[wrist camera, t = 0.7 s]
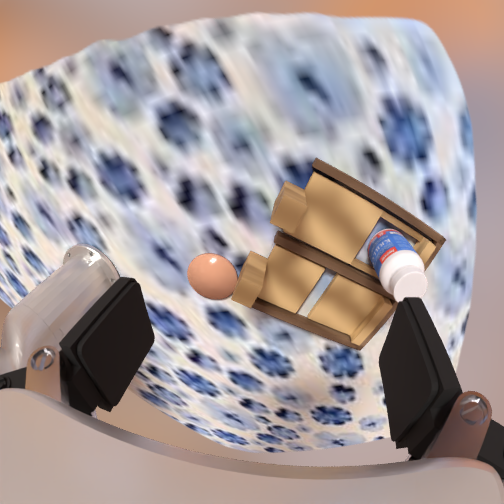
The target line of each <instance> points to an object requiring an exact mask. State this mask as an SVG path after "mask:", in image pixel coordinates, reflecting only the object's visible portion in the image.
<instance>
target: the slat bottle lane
mask: <svg viewBox="0 0 504 504" xmlns="http://www.w3.org/2000/svg"><path fill="white" fill-rule="evenodd" d="M380 217H382V218H384V219H385V220H387V221H389V222H390V223H392V224H393V225H395V226H397V227H398V228H400V229H401V230H403V231H405V232H406V233H408V234H409V235H411V236H412V237H414V238H415V239H417V240H418V241H417V242H416V244H415V245H414V247H413V249H414V250H415V251H416V252H417V254H418V255H419V256H420V258H421V259H422V261H423V264H424V265H425V263H426V262H427V260H428V259H429V257H430V256H431V254H432V253H433V251H434V250H435V248H436V246H435V245H434V244H433V243H432V242H431V241H430V240H429V239H427V238H426V237H424V236H423V235H421V234H420V233H419V232H417V231H416V230H414V229H413V228H411V227H409V226H408V225H406V224H405V223H403V222H402V221H400V220H399V219H397V218H396V217H394V216H392V215H391V214H389V213H388V212H386V211H384V210H383V209H381V208H379V207H378V206H376V205H374V204H373V203H371V202H369V201H368V200H366V199H364V198H363V197H361V196H359V195H357V194H356V193H354V192H352V191H350V190H348V189H347V188H345V187H343V186H341V185H339V184H338V183H336V182H334V181H332V180H330V179H328V178H326V177H325V176H323V175H321V174H319V173H317V172H315V171H314V172H313V174H312V176H311V178H310V180H309V182H308V183H307V185H306V187H305V189H302V188H300V187H298V186H296V185H294V184H292V183H290V182H287V181H285V183H284V185H283V187H282V189H281V191H280V193H279V195H278V197H277V199H276V201H275V203H274V207H273V212H272V216H271V221H270V223H272V224H274V225H276V226H278V227H280V228H282V229H283V232H285V233H287V234H289V235H291V236H293V237H295V238H297V239H300V240H302V241H304V242H306V243H308V244H310V245H312V246H314V247H316V248H318V249H320V250H322V251H324V252H326V253H328V254H330V255H332V256H334V257H336V258H338V259H340V260H342V261H344V262H346V263H348V264H350V265H352V266H354V267H356V268H358V269H360V270H362V271H364V272H366V273H368V274H370V275H372V276H374V277H376V278H378V275H377V273H376V271H375V269H374V268H373V267H371V266H369V265H367V264H366V263H364V262H362V261H360V260H358V259H356V258H355V256H356V255H357V253H358V251H359V250H360V248H361V247H362V245H363V244H364V242H365V241H366V239H367V237H368V236H369V234H370V233H371V231H372V229H373V228H374V226H375V224H376V223H377V221H378V219H379V218H380ZM378 279H379V278H378Z"/></svg>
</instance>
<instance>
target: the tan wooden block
mask: <svg viewBox="0 0 504 504" xmlns="http://www.w3.org/2000/svg"><path fill="white" fill-rule="evenodd" d="M324 270H325V266H323V265H321V264H319V263H316V262H314V261H312V260H310V259H308V258H306V257H304V256H302V255H300V254H298V253H295V252H293V251H291V250H289V249H287V248H285V247H283V246H281V245H279V244H275V246H274V248H273V250H272V252H271V253H270V255H269V257H268V259H267V258H265V257H263V256H261V255H259V254H256V253H254V252H252V251H250V253H249V255H248V257H247V259H246V261H245V263H244V265H243V267H242V269H241V272H240V275H239V278H238V281H237V284H236V286H235V289H234V292H233V295H232V298H231V300H233V301H235V302H238V303H240V304H242V305H244V306H247V307H249V308H251V307H252V305H253V303H254V302H255V300H256V298H257V297H258V298H260V299H263V300H265V301H267V302H270V303H272V304H274V305H277V306H279V307H281V308H284V309H286V310H288V311H291V312H293V313H296V312H297V311H298V309H299V308H300V306H301V305H302V303H303V302H304V300H305V299H306V298H307V296H308V295H309V293H310V292H311V290H312V289H313V287H314V286H315V284H316V283H317V281H318V280H319V278H320V277H321V275H322V273H323V272H324Z"/></svg>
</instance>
